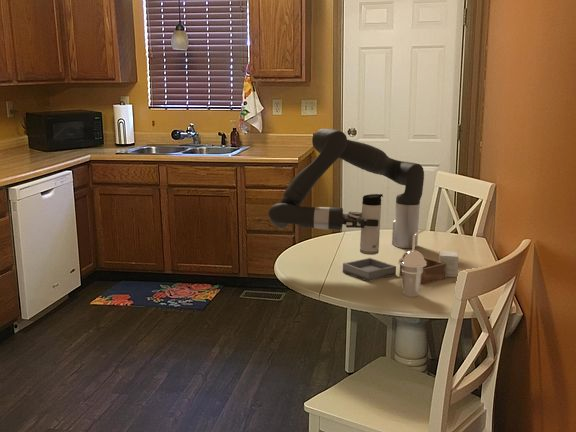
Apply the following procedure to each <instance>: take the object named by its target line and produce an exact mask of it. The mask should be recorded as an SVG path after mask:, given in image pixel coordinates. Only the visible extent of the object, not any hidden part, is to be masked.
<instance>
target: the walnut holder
mask: <svg viewBox="0 0 576 432" xmlns="http://www.w3.org/2000/svg"><path fill="white" fill-rule="evenodd" d="M423 257H424V260H425V261H426V263H427V265H426V266H425V267H424V270H423V273H422V277H421V283H420V284H423V285H425V284H428V283H429V284H430V283H432V282H437V281H440V280H444V279H446V277H445V275H446V264H445V263H442V262H439V260H435V259H431V258H428V257H425V256H423ZM399 276H400V277H402V271H401V265H400V264H399Z"/></svg>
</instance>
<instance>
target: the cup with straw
mask: <svg viewBox="0 0 576 432" xmlns="http://www.w3.org/2000/svg"><path fill="white" fill-rule="evenodd" d="M425 231H427V228H422V229H420V230H418V232H417V233H415V234H414V235H413V246H412V248H411V250H407V251H406V252H404V253H403V254H402V256H401V258H400V259H398V261H397V262H398V264H399V266H400V265H401V271H402V276H401V279H402V290H403V295H404V296H406V297H410V298H411V297H418V296H419V292H420V287H421V284H422V283H421V277H422V273H423V270H424V267H425V266H426V265H427V263H426V261H425V260H424V257H425V256H424V255H423V254H422V253H421V252H420V251H418V250H416V247H415V237H416V235H418V236H419V235H420V234H422V233H423V232H425Z"/></svg>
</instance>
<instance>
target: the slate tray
mask: <svg viewBox="0 0 576 432" xmlns="http://www.w3.org/2000/svg"><path fill="white" fill-rule="evenodd" d="M342 273H345V274H347V275H350V276H353V277H356V278H358V279H360V280H364V281H367V282H371V281H375V280H381V279H384V278H390V277H391V276H396V273H397V266H396V265H393V264H391V263H386V262H385V261H381V260H379V259H375V258H372V257H367V258H363V259H358V260H353V261H348V262H343V263H342Z"/></svg>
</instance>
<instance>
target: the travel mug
mask: <svg viewBox="0 0 576 432" xmlns="http://www.w3.org/2000/svg"><path fill="white" fill-rule="evenodd" d="M383 197H384V195H383V194H382V193H373V194H372V193H371V194H366V195H363V196H362V204H361V213H362V218H363V219H374V220H378V221H379V222H378V226H377V227H374V226H367V227H364V228H360V242H359V252H360V254H363V255H367V256H369V255H371V256H375V255H378V254H379V250H380V236H381V235H380V233H381V232H380V231H381V219H382V217H381V215H382V198H383Z"/></svg>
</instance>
